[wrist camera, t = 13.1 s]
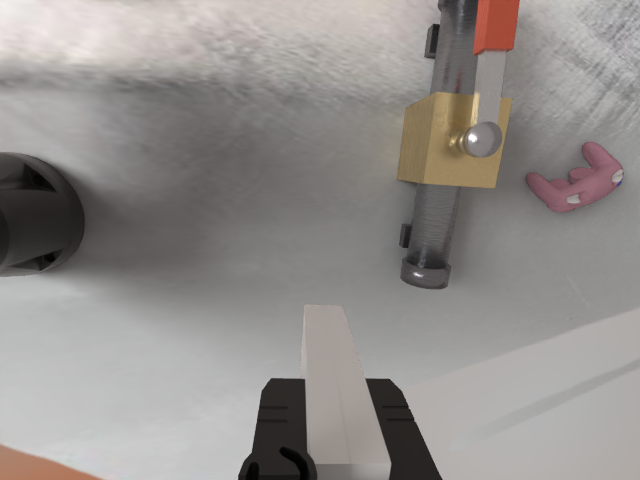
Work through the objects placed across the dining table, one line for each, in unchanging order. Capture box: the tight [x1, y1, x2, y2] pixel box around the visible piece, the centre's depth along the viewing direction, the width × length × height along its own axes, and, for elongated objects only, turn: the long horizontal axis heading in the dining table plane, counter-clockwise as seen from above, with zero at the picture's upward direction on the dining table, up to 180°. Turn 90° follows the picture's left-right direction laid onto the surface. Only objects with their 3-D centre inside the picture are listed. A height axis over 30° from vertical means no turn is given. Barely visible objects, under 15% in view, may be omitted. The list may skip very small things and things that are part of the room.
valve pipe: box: [397, 0, 513, 289], centre depth 35 cm, size 8×34×11 cm, turn 176°
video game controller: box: [527, 142, 624, 212], centre depth 40 cm, size 10×5×7 cm, turn 119°
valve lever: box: [462, 0, 520, 158], centre depth 28 cm, size 16×3×2 cm, turn 0°
